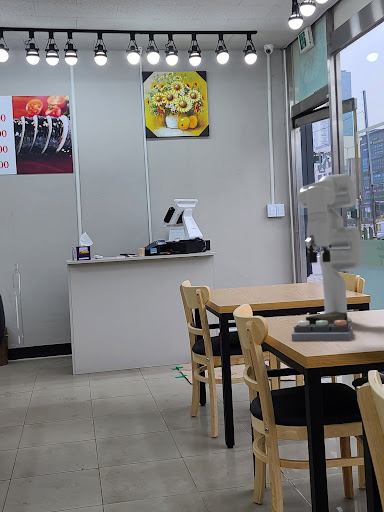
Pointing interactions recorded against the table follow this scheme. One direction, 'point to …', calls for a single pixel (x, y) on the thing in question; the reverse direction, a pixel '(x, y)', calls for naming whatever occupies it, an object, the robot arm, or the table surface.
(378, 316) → the table surface
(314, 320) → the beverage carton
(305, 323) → the cream button
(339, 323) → the terracotta button
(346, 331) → the button panel
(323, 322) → the sage button
